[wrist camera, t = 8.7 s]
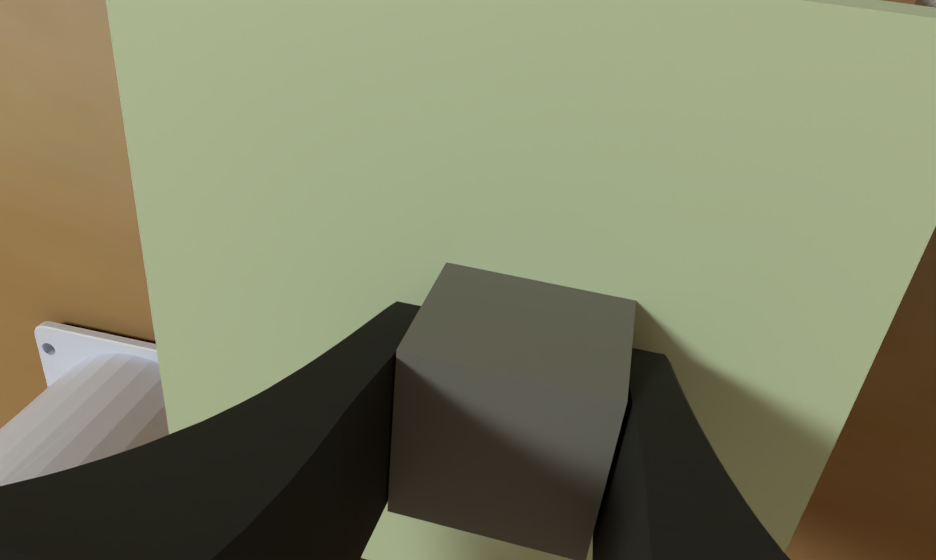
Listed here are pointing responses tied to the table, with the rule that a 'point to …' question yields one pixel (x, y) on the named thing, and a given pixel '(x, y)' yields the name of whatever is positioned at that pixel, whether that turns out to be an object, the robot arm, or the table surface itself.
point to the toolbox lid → (534, 229)
